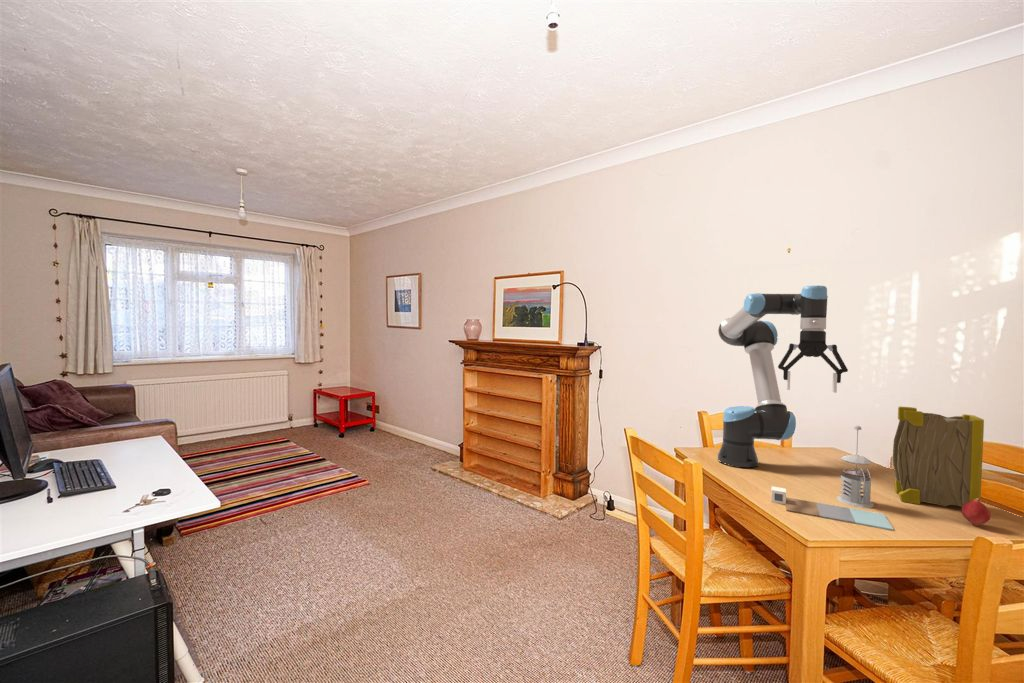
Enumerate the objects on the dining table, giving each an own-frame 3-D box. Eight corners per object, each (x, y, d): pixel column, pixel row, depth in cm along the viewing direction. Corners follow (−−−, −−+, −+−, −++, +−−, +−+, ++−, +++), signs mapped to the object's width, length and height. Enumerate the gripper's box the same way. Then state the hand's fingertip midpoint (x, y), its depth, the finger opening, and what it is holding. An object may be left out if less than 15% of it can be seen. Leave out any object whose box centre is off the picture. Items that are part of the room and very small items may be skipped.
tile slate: (819, 517, 133) (819, 515, 133) (816, 503, 144) (816, 502, 144) (855, 523, 129) (855, 522, 129) (848, 509, 139) (848, 508, 139)
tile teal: (855, 523, 129) (855, 522, 129) (848, 509, 139) (848, 508, 139) (893, 530, 125) (893, 529, 125) (883, 515, 135) (883, 513, 135)
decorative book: (970, 503, 145) (974, 411, 144) (982, 515, 136) (986, 417, 135) (890, 491, 156) (893, 405, 155) (896, 501, 147) (900, 410, 146)
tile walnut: (786, 510, 137) (786, 509, 137) (785, 498, 148) (785, 497, 148) (819, 517, 133) (819, 515, 133) (816, 503, 144) (816, 502, 144)
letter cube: (771, 502, 145) (771, 490, 144) (771, 498, 148) (771, 486, 148) (785, 504, 143) (786, 492, 142) (785, 500, 146) (785, 488, 146)
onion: (956, 523, 130) (958, 496, 130) (967, 519, 133) (968, 493, 132) (984, 531, 125) (985, 503, 125) (994, 528, 127) (995, 500, 127)
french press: (863, 497, 150) (866, 423, 149) (884, 511, 138) (888, 431, 137) (830, 495, 152) (833, 421, 151) (848, 508, 140) (851, 429, 139)
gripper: (772, 329, 158) (770, 389, 159) (859, 330, 147) (857, 394, 148) (771, 329, 165) (769, 387, 166) (854, 330, 154) (852, 392, 154)
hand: (810, 390), depth 157 cm, fingers open, 13 cm apart
